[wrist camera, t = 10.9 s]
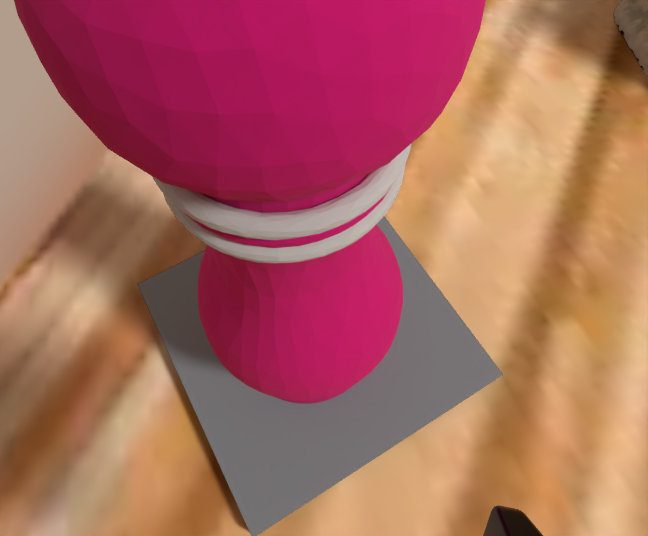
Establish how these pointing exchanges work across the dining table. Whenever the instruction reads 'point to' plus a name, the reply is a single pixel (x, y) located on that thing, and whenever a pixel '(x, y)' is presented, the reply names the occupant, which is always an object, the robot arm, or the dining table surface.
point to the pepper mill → (270, 155)
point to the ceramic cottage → (634, 27)
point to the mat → (323, 417)
